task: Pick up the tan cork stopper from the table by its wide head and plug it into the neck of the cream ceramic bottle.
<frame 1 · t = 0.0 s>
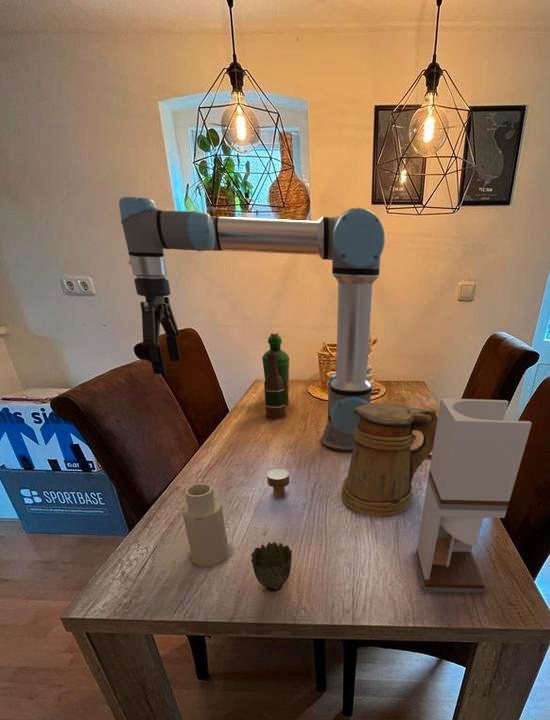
hand: (168, 367, 105), 28 cm above the table, tool pointing down, fingers open, 13 cm apart
cup: (274, 587, 76), on the table
cork: (279, 495, 104), on the table
tankard: (385, 498, 105), on the table
bottle: (210, 554, 83), on the table
bottle 2: (278, 403, 167), on the table
white pedestal holder: (447, 573, 81), on the table
beer bottle: (275, 416, 155), on the table
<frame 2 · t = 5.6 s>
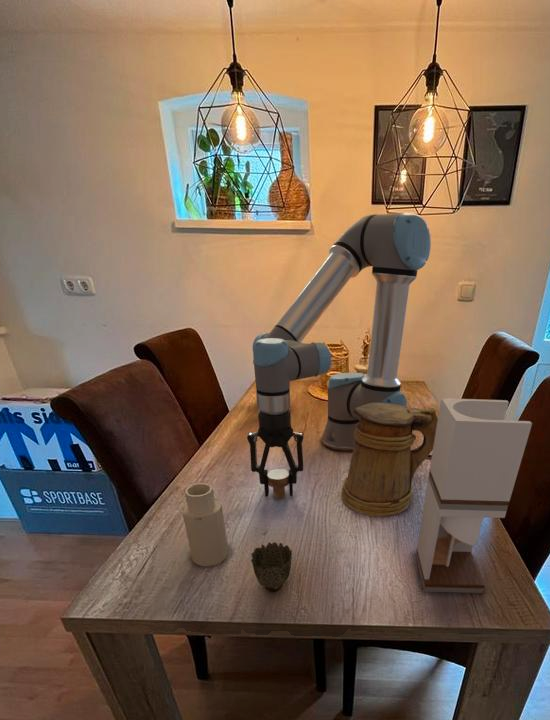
hand: (279, 493, 104), 1 cm above the table, tool pointing down, fingers closed on cork, 6 cm apart
cork: (279, 495, 104), on the table, touching gripper
everything else where it was.
when the fingers open (14 cm above the table, at t = 13.7 s): cork drops 2 cm, resting on bottle.
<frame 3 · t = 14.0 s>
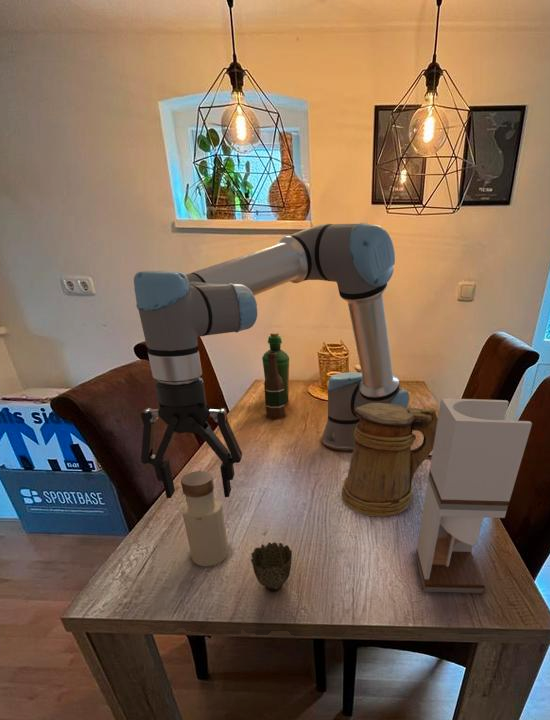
hand: (199, 493, 76), 15 cm above the table, tool pointing down, fingers open, 10 cm apart
cork: (201, 507, 77), point 12 cm above the table, touching bottle
everything else where it was.
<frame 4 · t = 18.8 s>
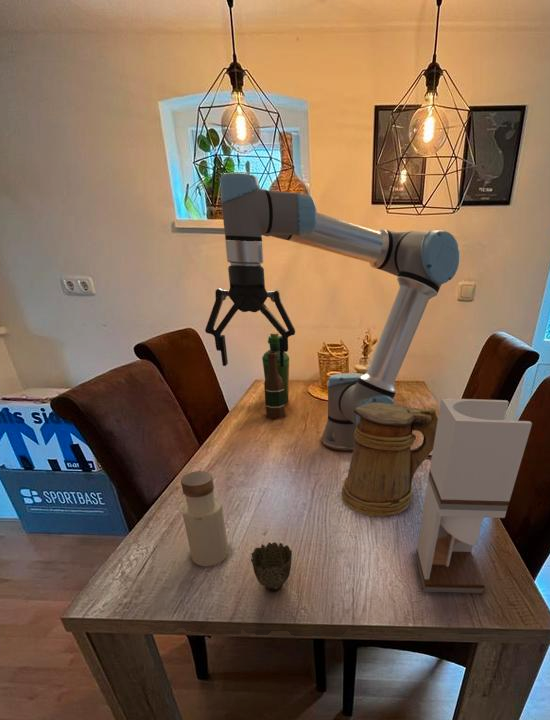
hand: (254, 365, 96), 32 cm above the table, tool pointing down, fingers open, 13 cm apart
nothing on the table moved.
at the end: cork 0.0 cm off-centre in the bottle, point 12.0 cm above the bottle's base; cork tilted 0°; the gripper is holding nothing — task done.
